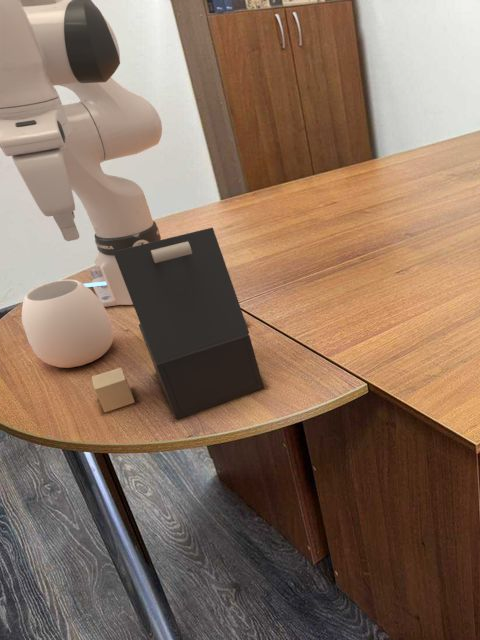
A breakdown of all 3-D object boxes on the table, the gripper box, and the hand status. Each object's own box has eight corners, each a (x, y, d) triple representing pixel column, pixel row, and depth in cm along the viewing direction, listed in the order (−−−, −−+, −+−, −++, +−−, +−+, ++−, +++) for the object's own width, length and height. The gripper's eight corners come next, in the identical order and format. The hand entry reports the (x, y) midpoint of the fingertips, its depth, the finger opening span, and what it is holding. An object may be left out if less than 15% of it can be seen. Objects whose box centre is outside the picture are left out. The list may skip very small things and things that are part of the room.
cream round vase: (30, 360, 118) (-3, 294, 111) (103, 331, 126) (77, 267, 119) (57, 385, 111) (24, 315, 104) (133, 351, 119) (107, 285, 112)
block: (101, 399, 106) (91, 376, 104) (130, 389, 108) (121, 367, 106) (104, 412, 103) (94, 389, 100) (135, 402, 105) (125, 379, 102)
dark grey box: (157, 374, 111) (138, 324, 106) (237, 348, 117) (222, 299, 112) (176, 419, 100) (156, 365, 95) (264, 388, 106) (249, 335, 101)
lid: (112, 251, 91) (112, 249, 87) (212, 227, 97) (216, 224, 93) (155, 362, 95) (157, 365, 90) (248, 333, 101) (254, 334, 96)
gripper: (2, 116, 89) (42, 213, 96) (-2, 144, 74) (47, 257, 81) (53, 109, 92) (89, 204, 99) (60, 135, 76) (102, 245, 84)
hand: (70, 228), depth 90 cm, fingers open, 8 cm apart
